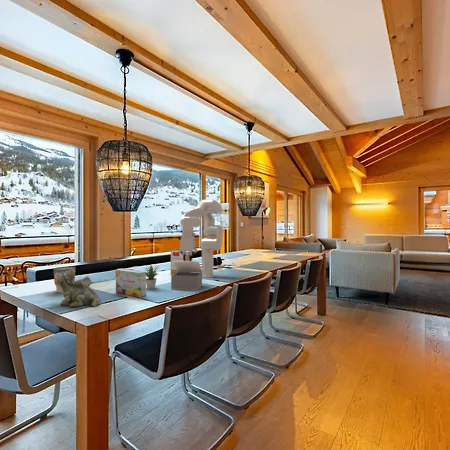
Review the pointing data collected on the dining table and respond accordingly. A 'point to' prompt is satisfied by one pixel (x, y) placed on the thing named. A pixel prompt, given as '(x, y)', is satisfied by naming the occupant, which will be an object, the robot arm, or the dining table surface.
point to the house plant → (151, 277)
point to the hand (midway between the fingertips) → (187, 260)
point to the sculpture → (76, 290)
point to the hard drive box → (176, 259)
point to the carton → (186, 280)
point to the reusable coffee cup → (60, 270)
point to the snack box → (131, 282)
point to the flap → (187, 265)
